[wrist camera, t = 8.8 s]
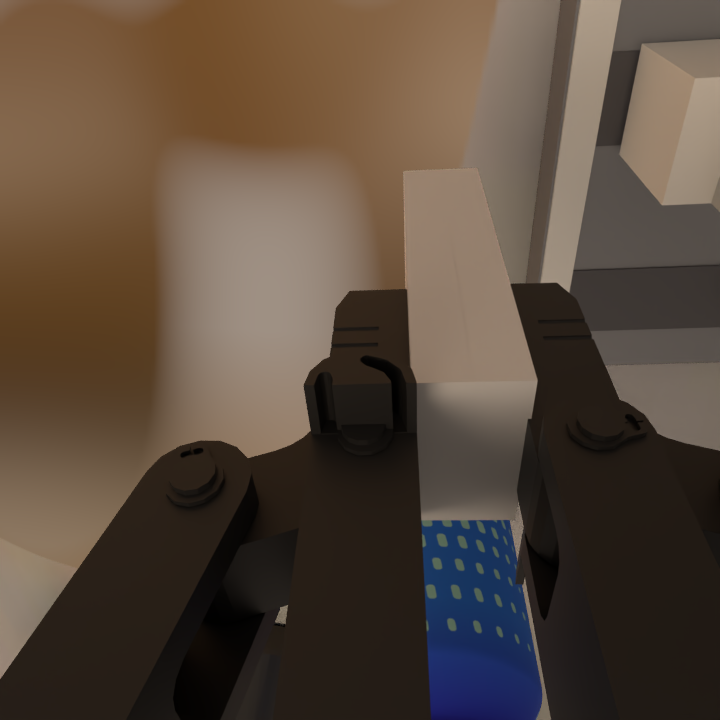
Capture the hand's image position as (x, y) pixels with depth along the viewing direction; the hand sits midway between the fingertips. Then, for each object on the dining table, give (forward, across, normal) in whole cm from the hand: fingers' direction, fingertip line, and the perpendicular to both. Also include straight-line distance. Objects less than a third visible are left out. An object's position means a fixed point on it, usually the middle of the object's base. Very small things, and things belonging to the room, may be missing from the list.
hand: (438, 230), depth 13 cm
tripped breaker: (+9, +9, 0) cm, 13 cm away
